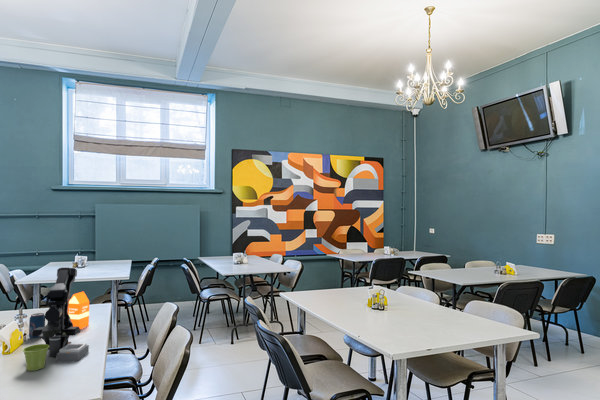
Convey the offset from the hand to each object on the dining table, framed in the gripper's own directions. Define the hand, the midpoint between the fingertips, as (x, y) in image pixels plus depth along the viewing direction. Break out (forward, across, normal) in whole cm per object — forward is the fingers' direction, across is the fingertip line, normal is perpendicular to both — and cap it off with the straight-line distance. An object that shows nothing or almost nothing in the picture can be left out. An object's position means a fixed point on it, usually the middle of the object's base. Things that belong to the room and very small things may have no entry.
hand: (55, 350), depth 179 cm
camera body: (+2, +9, -3) cm, 10 cm away
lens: (+2, 0, 0) cm, 2 cm away
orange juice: (+3, -10, +45) cm, 46 cm away
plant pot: (+3, 0, -15) cm, 16 cm away
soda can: (+3, -23, +28) cm, 36 cm away
